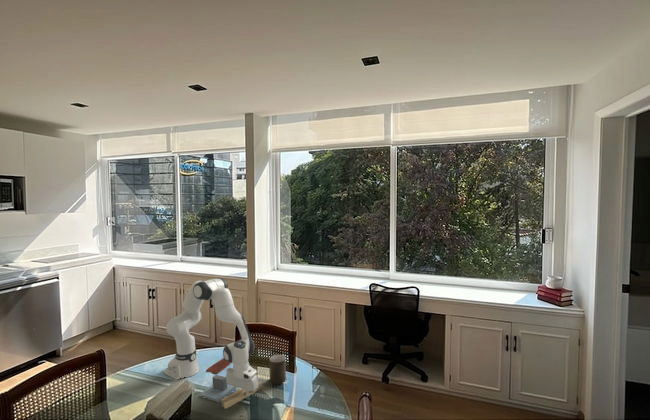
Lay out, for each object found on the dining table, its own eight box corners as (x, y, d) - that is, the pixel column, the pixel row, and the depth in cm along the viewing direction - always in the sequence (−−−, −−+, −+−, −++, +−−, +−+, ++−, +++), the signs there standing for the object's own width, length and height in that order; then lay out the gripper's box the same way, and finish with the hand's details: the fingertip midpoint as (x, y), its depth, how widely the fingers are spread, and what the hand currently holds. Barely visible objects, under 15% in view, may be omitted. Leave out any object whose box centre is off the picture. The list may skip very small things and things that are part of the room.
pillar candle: (278, 386, 201) (277, 362, 200) (266, 380, 207) (266, 357, 206) (289, 378, 208) (288, 355, 207) (278, 373, 214) (277, 350, 213)
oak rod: (221, 406, 184) (221, 399, 184) (257, 386, 202) (257, 379, 202) (225, 409, 181) (225, 402, 181) (261, 388, 199) (261, 382, 199)
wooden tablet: (217, 375, 215) (216, 373, 215) (204, 372, 219) (204, 370, 219) (242, 355, 240) (242, 353, 239) (231, 353, 244) (231, 351, 243)
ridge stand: (199, 396, 193) (199, 383, 192) (221, 379, 209) (220, 367, 209) (219, 402, 187) (218, 388, 186) (239, 384, 203) (239, 371, 203)
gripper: (222, 369, 192) (224, 393, 193) (252, 377, 183) (253, 401, 185) (230, 364, 198) (231, 387, 199) (259, 371, 189) (260, 395, 190)
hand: (242, 394), depth 191 cm, fingers closed on oak rod, 5 cm apart
